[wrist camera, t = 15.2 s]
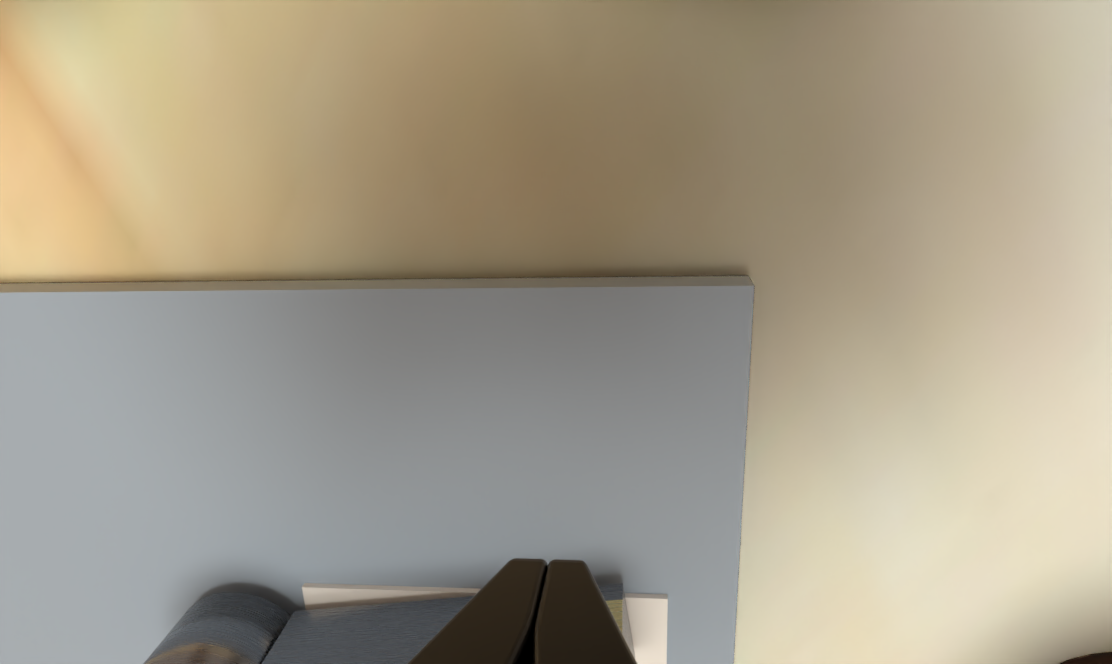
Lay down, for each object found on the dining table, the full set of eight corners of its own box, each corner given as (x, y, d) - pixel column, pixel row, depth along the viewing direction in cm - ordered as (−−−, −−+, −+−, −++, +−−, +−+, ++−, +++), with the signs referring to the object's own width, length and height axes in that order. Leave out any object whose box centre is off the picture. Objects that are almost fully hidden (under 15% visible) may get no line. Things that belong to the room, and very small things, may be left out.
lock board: (-271, 286, 22) (-320, 297, 21) (747, 275, 19) (755, 287, 18) (-66, 782, 28) (-94, 811, 27) (719, 831, 26) (723, 866, 24)
